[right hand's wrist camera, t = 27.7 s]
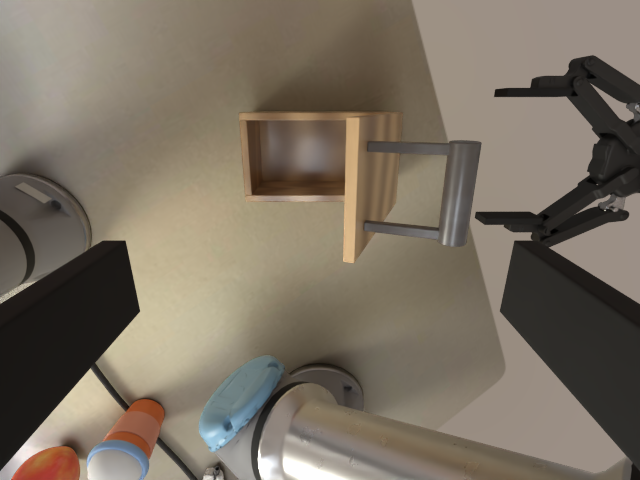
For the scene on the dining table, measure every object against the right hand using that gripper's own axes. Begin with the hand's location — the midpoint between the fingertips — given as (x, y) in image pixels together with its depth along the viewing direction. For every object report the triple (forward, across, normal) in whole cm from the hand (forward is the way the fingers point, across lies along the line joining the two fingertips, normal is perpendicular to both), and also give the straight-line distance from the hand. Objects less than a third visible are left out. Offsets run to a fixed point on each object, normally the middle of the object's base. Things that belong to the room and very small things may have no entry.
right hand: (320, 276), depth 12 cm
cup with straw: (+38, +31, +46) cm, 67 cm away
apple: (+38, +48, +56) cm, 83 cm away
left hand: (+29, -19, 0) cm, 34 cm away
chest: (+38, 0, 0) cm, 38 cm away
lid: (+21, -5, 0) cm, 21 cm away
